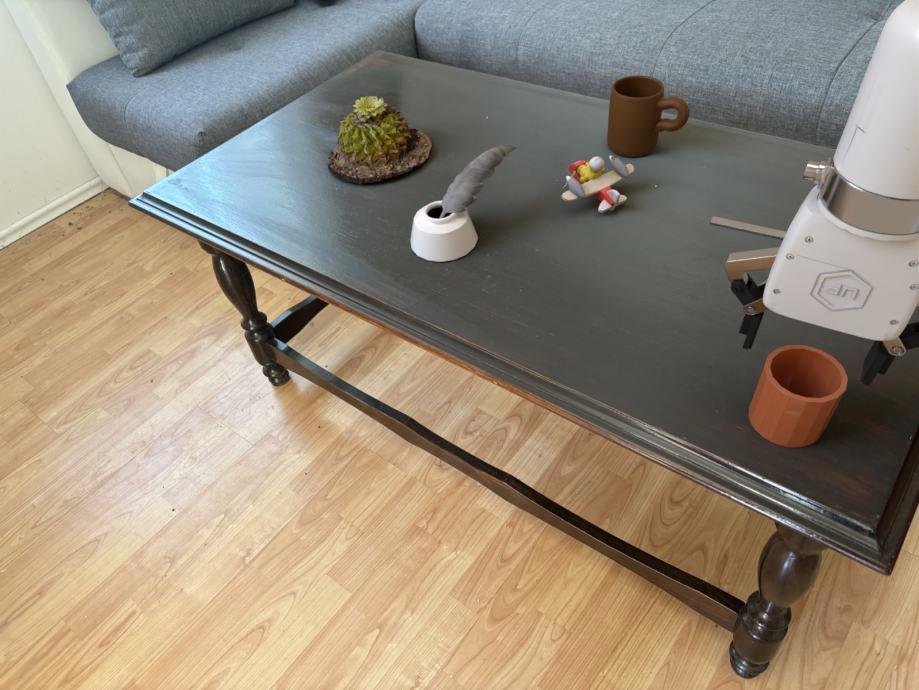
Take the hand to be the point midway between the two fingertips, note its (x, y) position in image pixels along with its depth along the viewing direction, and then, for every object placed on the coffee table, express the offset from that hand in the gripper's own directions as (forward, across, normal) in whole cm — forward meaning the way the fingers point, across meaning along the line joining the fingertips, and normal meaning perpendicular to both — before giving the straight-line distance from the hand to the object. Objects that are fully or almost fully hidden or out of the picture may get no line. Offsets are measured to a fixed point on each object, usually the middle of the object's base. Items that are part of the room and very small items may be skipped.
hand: (806, 355), depth 58 cm
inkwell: (+10, -43, +16) cm, 47 cm away
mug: (+10, -27, +43) cm, 52 cm away
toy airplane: (+10, -29, +28) cm, 42 cm away
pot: (+9, +1, 0) cm, 9 cm away
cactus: (+11, -65, +27) cm, 71 cm away
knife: (+9, -5, +29) cm, 31 cm away
